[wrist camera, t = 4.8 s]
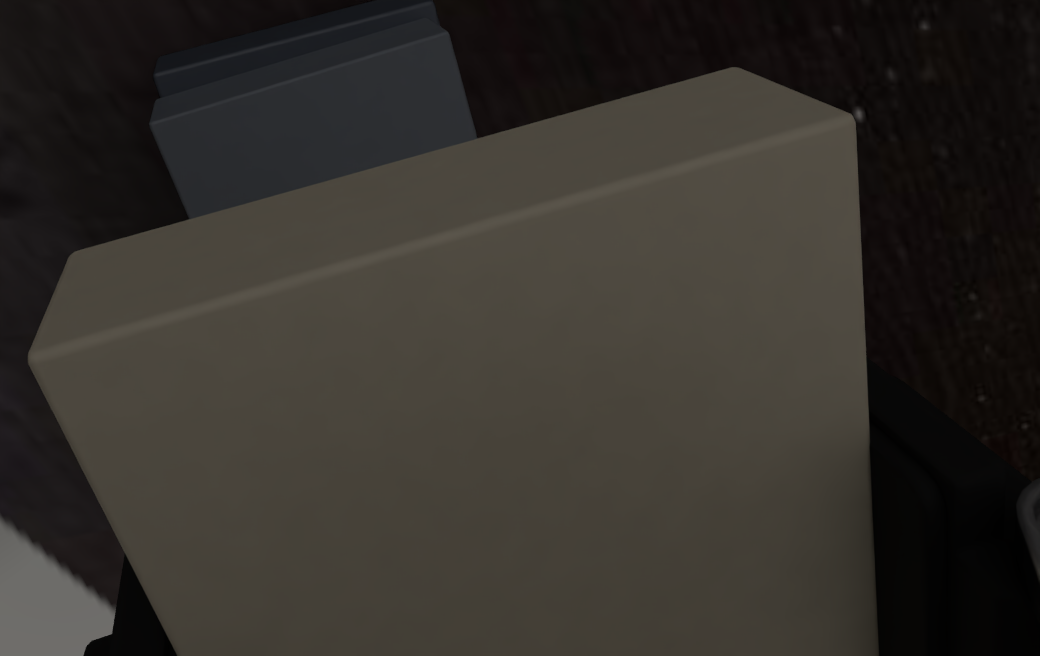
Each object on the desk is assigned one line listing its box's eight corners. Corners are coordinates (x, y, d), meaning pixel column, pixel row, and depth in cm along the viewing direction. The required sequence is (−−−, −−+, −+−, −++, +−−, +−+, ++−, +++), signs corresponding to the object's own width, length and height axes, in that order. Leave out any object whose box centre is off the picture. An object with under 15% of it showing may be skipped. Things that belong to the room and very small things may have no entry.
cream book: (66, 251, 9) (20, 359, 7) (737, 62, 10) (860, 113, 8) (358, 884, 13) (378, 1056, 11) (802, 714, 14) (891, 849, 12)
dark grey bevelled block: (150, 58, 20) (137, 97, 16) (420, -12, 21) (463, 10, 17) (298, 449, 24) (312, 547, 21) (516, 378, 25) (565, 460, 21)
